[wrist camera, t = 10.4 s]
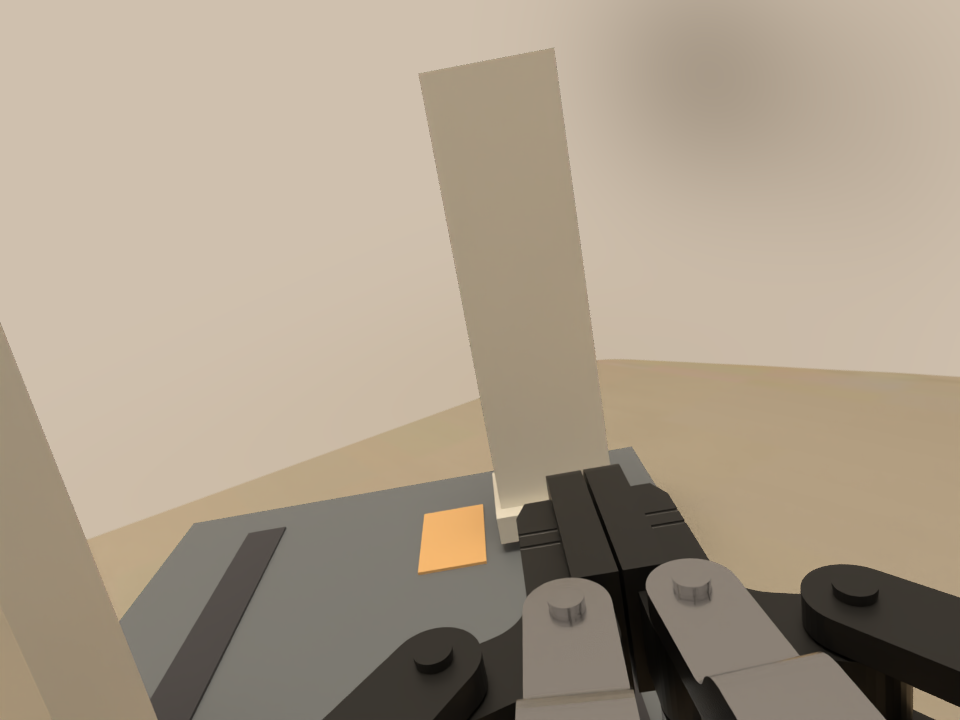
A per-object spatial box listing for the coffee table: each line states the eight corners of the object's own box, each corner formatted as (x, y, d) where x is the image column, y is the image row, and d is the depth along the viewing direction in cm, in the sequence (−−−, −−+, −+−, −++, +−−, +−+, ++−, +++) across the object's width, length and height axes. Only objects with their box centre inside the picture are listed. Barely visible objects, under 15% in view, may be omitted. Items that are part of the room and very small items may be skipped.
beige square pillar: (604, 475, 26) (547, 63, 22) (626, 522, 23) (563, 42, 18) (496, 495, 26) (418, 87, 22) (501, 544, 23) (410, 71, 18)
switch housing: (636, 486, 30) (631, 444, 29) (960, 1072, 10) (963, 981, 10) (206, 561, 30) (193, 521, 29) (-246, 1251, 11) (-311, 1176, 10)
